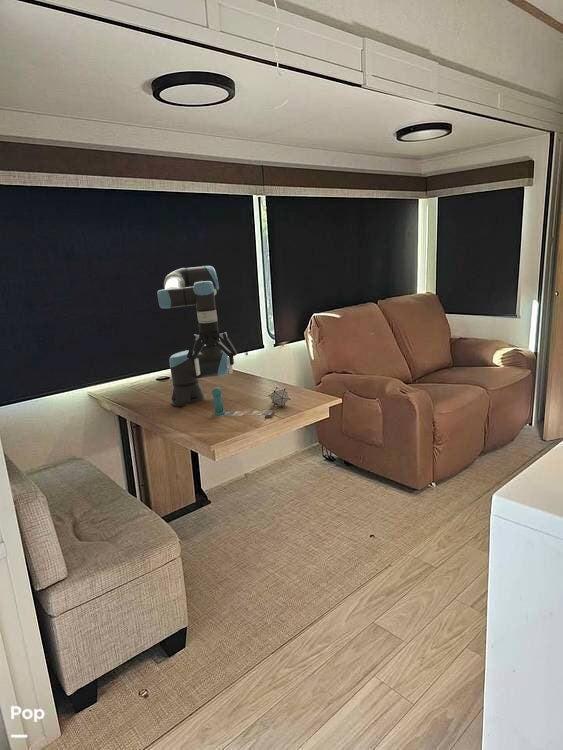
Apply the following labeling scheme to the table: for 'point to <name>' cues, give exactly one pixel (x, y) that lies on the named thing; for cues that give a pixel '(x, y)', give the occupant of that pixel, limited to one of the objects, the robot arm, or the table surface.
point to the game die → (279, 397)
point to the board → (249, 413)
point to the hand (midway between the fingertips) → (214, 374)
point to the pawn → (218, 401)
